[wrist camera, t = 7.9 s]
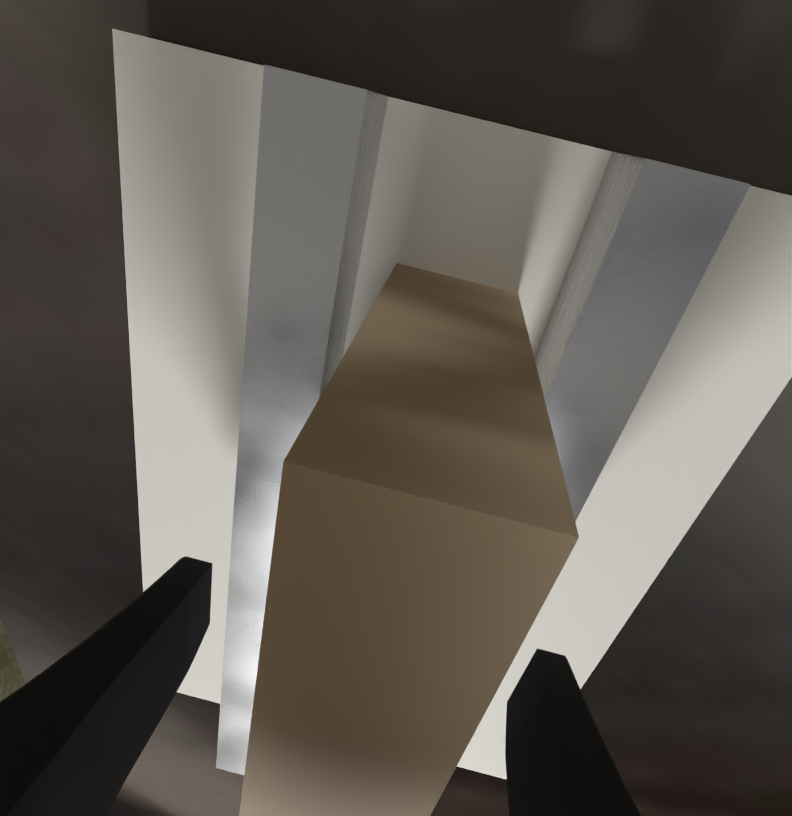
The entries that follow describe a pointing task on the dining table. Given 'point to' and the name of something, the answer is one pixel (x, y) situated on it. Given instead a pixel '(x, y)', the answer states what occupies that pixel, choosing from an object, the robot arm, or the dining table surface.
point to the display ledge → (441, 253)
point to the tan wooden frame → (405, 555)
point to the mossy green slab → (8, 667)
